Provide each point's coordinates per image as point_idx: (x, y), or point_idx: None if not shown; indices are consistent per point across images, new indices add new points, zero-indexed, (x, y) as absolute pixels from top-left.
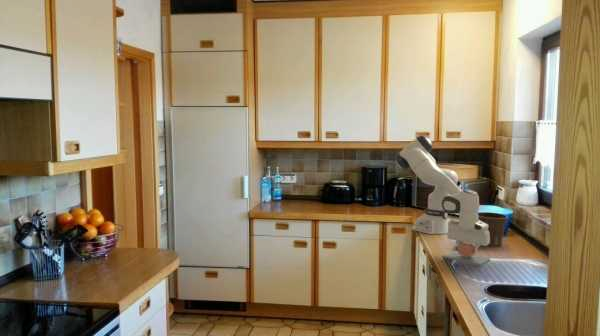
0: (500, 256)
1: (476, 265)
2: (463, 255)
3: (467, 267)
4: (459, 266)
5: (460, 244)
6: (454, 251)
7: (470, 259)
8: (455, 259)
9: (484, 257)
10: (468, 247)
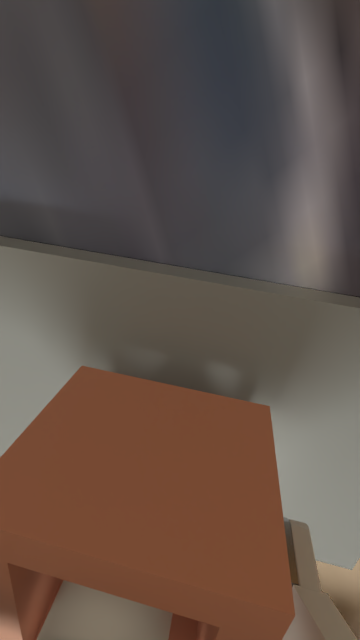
0: None
1: (7, 237)
2: None
3: (54, 71)
4: (165, 28)
5: (245, 600)
6: (355, 553)
7: (108, 358)
8: (290, 290)
9: None
10: (35, 495)
